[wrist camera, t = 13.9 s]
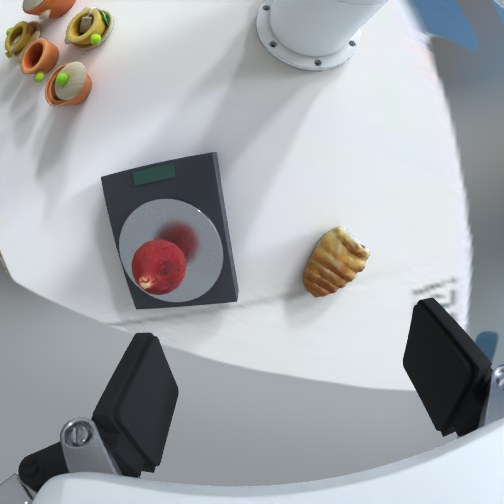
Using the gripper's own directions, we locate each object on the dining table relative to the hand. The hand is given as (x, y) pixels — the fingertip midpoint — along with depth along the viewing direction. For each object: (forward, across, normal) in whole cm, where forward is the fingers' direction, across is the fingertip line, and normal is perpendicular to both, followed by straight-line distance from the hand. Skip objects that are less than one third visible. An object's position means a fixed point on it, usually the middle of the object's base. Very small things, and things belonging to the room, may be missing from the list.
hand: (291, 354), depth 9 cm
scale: (+26, +12, +2) cm, 29 cm away
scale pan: (+23, +12, +3) cm, 26 cm away
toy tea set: (+26, +25, -30) cm, 47 cm away
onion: (+23, +12, +4) cm, 26 cm away
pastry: (+26, -8, +8) cm, 29 cm away
